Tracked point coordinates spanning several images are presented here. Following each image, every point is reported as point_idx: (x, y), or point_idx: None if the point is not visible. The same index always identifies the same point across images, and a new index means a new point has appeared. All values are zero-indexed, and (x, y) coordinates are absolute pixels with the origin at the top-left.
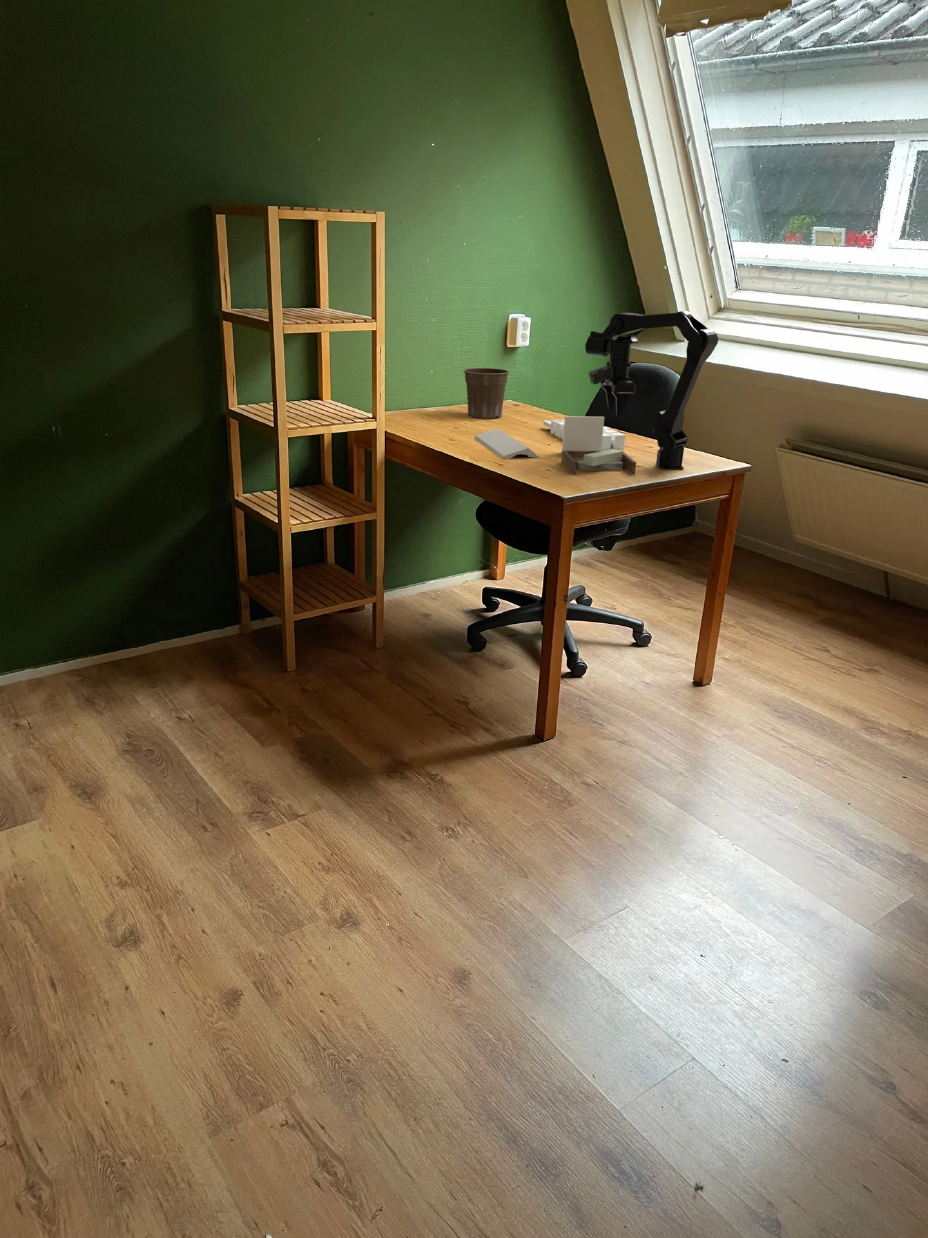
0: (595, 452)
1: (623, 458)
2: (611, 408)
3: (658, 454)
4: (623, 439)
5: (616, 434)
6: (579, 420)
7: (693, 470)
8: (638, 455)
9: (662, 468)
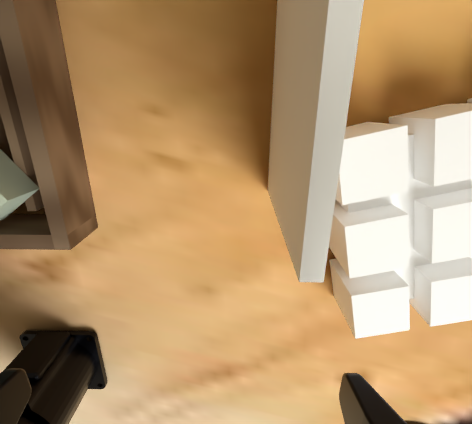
0: None
1: (3, 227)
2: (342, 403)
3: (30, 360)
4: (346, 317)
5: (374, 306)
6: (316, 21)
7: None
8: (228, 315)
9: (23, 332)
